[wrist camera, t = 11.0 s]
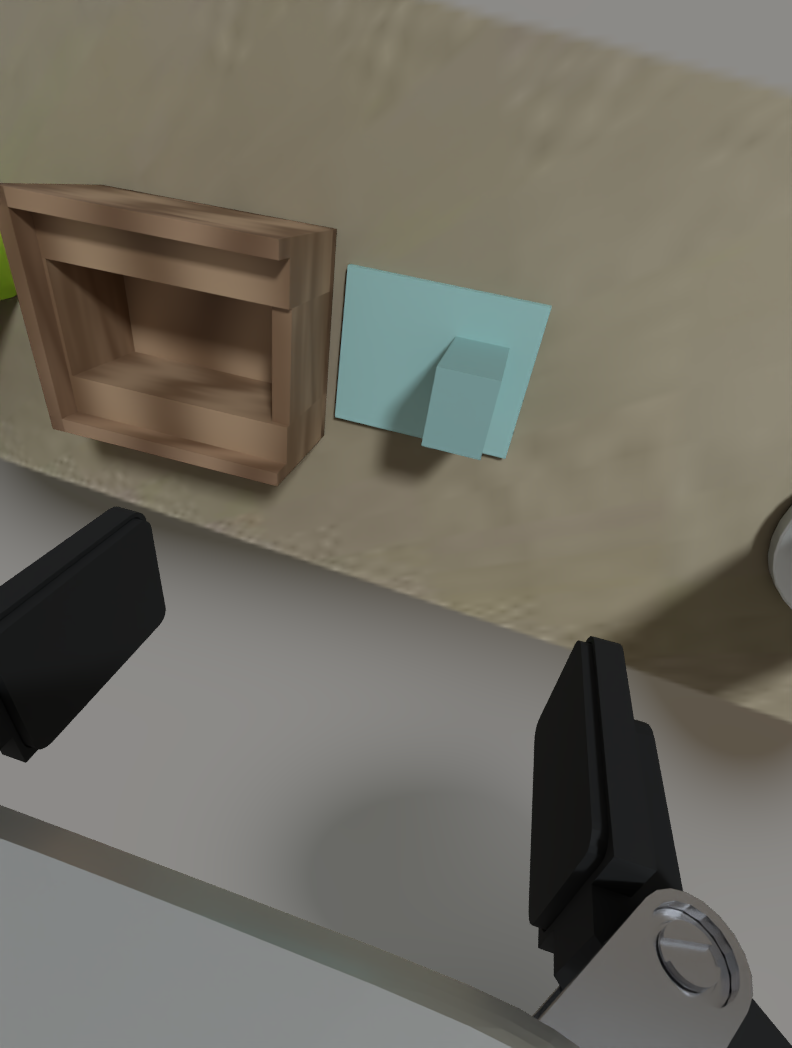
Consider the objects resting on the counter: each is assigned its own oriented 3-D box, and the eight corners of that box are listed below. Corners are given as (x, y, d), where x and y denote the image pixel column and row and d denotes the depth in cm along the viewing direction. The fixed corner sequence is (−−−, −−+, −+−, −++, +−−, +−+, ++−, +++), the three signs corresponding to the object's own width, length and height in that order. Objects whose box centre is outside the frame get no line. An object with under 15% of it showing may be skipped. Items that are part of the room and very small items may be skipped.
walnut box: (336, 229, 27) (278, 239, 21) (323, 435, 34) (277, 486, 28) (101, 184, 29) (-13, 183, 23) (134, 389, 35) (52, 428, 30)
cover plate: (551, 304, 27) (552, 333, 21) (506, 453, 32) (497, 508, 26) (352, 263, 28) (304, 280, 22) (339, 412, 33) (297, 456, 28)
